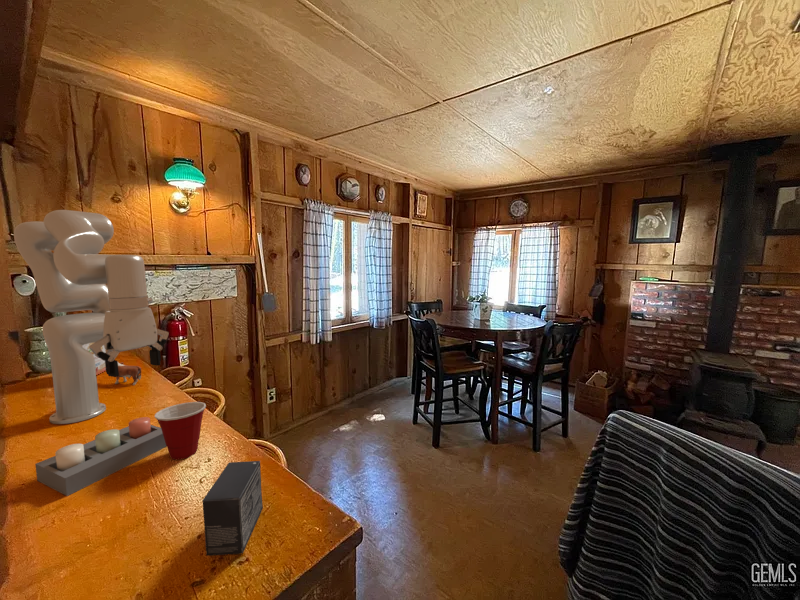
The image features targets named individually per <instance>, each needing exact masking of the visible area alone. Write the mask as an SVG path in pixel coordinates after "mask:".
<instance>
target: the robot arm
mask: <svg viewBox="0 0 800 600" xmlns="http://www.w3.org/2000/svg"><path fill="white" fill-rule="evenodd" d="M114 231H115V230H114V225H113V223H112V221H111V220H110V218H108V217H107V216H106V215H104V214H101V213H97V212H89V211H88V212H87V211H79V210H70V209H69V210H68V209H57V210H56V209H55V210H53V211H50V212H48V213H47V214H46V215H45V216H44V218H43V221H40V220H39V221H36V220H35V221H25V222H21V223H19V224H18V225H16V226H15V228H14V231H13V237H14V238H13V239H14V244H15V245H16V248H17V251H18V252H19V254H20V256H21V257H22V259H23V261H25V263H26V265H28V268H30V270H31V272H32V275H33V278H34V281H35V282H34V283H35V285H36V289H37V292H38V295H39V298H40V302H41V304H42V306H43V308H44V309H45V310H46V311H48V312H49V313H69V312H71V313H72V312H79V311H80V312H81V311H91V312H87V313H86V312H85V313H75V314H74V313H72V314H65V315H58V316H55V317H51V318H49V319H47V320H45V322H44V323H43V325H42V335H43V338H44V340H45V344H46V347H47V350H48V354H49V360H50V368H51V377H52V383H53V391H54V393H53V394H54V403H55V412H54V413H53V414H51V415H50V416H49V423H51V424H53V425H67V424H68V425H69V424H73V423H78V422H83V421H86V420H90V419H92V418H95V417H98V416H99V415H101V414H102V413H103V412H105V411H106V410H107V406H106V404H105V403H102V402H100V401H99V400H100V399H99V389H98V379H97V376H96V367H95V359H94V356H93V355H92V354H91V353H90V352H89V351H87V350H86V349H84V348H83V347H82V345H84V344H89V343H93V344H92V345H90V346H89V349H90V350H91V351H92V352H93V353H94V354H95V356H97V357H99V358H101V359H102V360H104V361H105V367H106V371H105V373H106V374H107V375H108V377H112V378H116V377H118V376H119V371H118V363H119V361H118V360H116V358H117V357H118V356H119V354H120V353H122V352H126V351H132V350H136V349H141V348H145V347H149V348H150V350H149V351H148V352H149V362H150V366H151V365H152V366H161V364H162V363H161V361H162V357H161V356H162V355H161V351H162V350H163V346H165V344H166V343H167V340H168V337H169V333H170V332H169V331H166V330H162V329H159V328H157V323H156V320H155V316H154V314H153V310H152V308H151V307H149V304H151V303H153V300H154V299H153V298H152V297H149V296H148V291H147V290H148V289H147V279H146V277H147V276H146V269H145V260H144V258H143V257H142V256H141V255H137V254H105V253H104V254H103V253H102V254H100V253H101V252H102V250H103V248H104V247H105V245H106V244H107V243H108V242H110V241H111V239H112V238H113V237H114V233H115V232H114ZM158 335H159V339H158ZM94 342H95V343H94ZM103 345H104V348H105V351H106V353H104V352H103V351H102V350H101V347H102V346H103Z"/></svg>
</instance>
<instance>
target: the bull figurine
mask: <svg viewBox="0 0 800 600" xmlns="http://www.w3.org/2000/svg"><path fill="white" fill-rule="evenodd" d="M118 371H119V376H118V377H115V382H114V385H117V384H119V380H120V378H123V383H127V381H128V380H127V378H128V379H131V377H132V379H133V383H132V386H136V385H137V382H139V381H140V380H141V378H142V367H141V366H139V365H127V364H124V362H122V361H121V362H118Z"/></svg>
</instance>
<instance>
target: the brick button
mask: <svg viewBox="0 0 800 600" xmlns="http://www.w3.org/2000/svg"><path fill="white" fill-rule="evenodd" d="M151 425H152V424H151V417H148V416H145V417H144V416H143V417H138V418H135V419H132V420H130V421H129V422H128V426H129V434H130V438H133V439H137V438H139V437H142V436H144V435H146V434H149V433H151Z"/></svg>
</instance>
